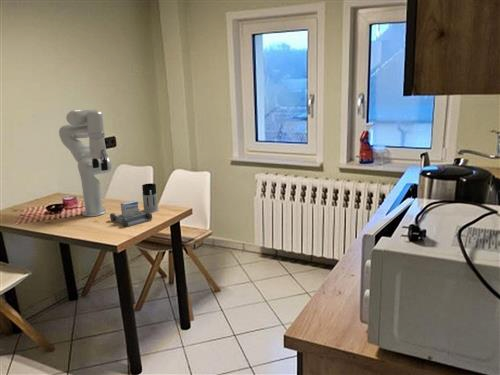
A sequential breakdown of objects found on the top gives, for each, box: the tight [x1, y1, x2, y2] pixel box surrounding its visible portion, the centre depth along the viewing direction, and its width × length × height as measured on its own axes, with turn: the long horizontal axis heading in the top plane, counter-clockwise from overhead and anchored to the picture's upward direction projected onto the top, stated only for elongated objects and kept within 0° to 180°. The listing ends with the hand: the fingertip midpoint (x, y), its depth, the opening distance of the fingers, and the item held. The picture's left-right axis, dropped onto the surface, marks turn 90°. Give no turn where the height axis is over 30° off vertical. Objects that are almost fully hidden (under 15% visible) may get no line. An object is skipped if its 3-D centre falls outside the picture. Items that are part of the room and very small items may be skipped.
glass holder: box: [141, 183, 160, 214], centre depth 236 cm, size 9×14×15 cm, turn 18°
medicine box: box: [120, 200, 140, 219], centre depth 223 cm, size 8×4×9 cm, turn 134°
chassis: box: [109, 210, 153, 227], centre depth 223 cm, size 17×15×4 cm
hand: (100, 169), depth 216 cm, fingers open, 9 cm apart
